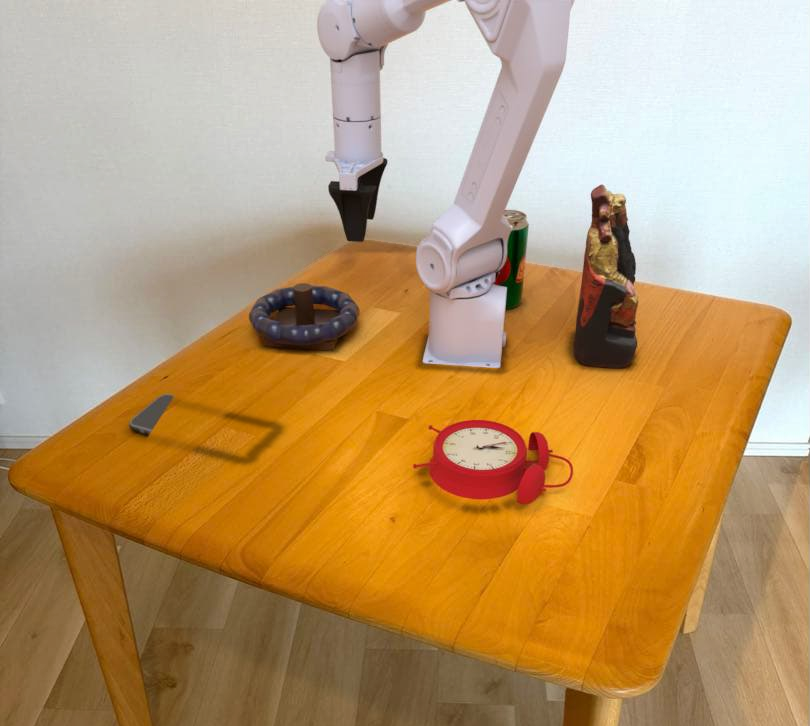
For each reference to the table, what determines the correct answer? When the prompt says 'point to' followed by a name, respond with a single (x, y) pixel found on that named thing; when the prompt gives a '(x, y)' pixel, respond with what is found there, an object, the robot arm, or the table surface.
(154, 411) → the grey flat tapered piece
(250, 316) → the ring
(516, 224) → the soda can
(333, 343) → the post
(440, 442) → the alarm clock
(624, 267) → the statue
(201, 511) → the table surface
